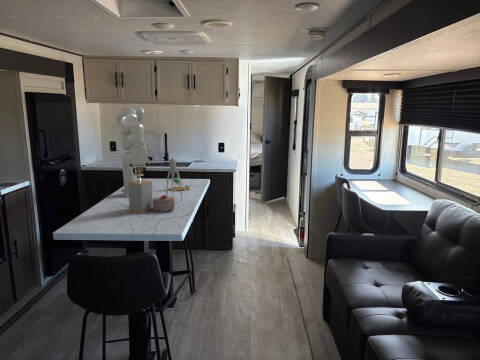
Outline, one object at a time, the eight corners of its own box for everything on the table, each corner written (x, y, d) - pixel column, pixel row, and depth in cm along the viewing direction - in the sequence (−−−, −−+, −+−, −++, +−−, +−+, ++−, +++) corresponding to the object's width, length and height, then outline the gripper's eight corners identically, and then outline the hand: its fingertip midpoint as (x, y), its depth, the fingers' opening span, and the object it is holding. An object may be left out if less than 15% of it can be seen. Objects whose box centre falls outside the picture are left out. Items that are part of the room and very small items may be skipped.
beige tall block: (127, 211, 223) (125, 183, 219) (140, 206, 234) (138, 179, 230) (143, 213, 218) (141, 184, 215) (155, 208, 229) (153, 181, 225)
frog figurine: (187, 191, 275) (185, 173, 272) (165, 193, 278) (163, 174, 275) (191, 188, 284) (189, 170, 281) (170, 190, 287) (167, 172, 285)
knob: (131, 206, 223) (129, 167, 218) (140, 203, 231) (138, 165, 226) (142, 208, 220) (139, 168, 215) (150, 204, 227) (148, 166, 222)
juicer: (179, 203, 242) (178, 159, 236) (166, 202, 244) (165, 158, 238) (184, 199, 252) (183, 156, 246) (172, 198, 254) (171, 156, 248)
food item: (175, 208, 230) (174, 193, 228) (175, 212, 222) (174, 196, 220) (153, 209, 228) (153, 194, 226) (152, 212, 220) (151, 197, 218)
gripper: (123, 145, 211) (125, 176, 215) (152, 144, 217) (154, 174, 221) (122, 144, 218) (124, 173, 222) (151, 143, 224) (152, 172, 228)
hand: (139, 173), depth 221 cm, fingers closed on knob, 5 cm apart
